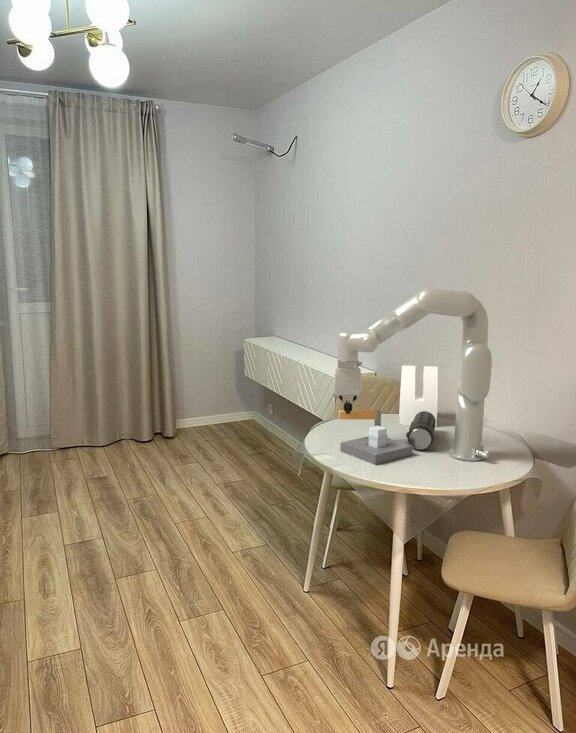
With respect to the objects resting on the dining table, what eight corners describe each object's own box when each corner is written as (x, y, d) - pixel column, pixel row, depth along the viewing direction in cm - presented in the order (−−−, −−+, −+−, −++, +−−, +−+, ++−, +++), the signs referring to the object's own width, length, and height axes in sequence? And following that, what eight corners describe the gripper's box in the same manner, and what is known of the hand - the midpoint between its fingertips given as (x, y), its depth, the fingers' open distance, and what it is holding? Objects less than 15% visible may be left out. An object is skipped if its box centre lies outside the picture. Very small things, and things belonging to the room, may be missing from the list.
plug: (386, 454, 209) (387, 428, 208) (377, 457, 206) (378, 430, 205) (376, 451, 213) (377, 425, 212) (367, 453, 210) (368, 427, 209)
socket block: (412, 455, 209) (412, 445, 209) (375, 464, 198) (375, 455, 198) (376, 443, 224) (377, 434, 223) (340, 451, 212) (340, 442, 212)
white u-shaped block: (436, 427, 248) (439, 370, 244) (400, 425, 250) (402, 369, 246) (432, 416, 266) (435, 363, 262) (399, 414, 269) (401, 362, 265)
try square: (379, 434, 221) (380, 410, 220) (380, 436, 219) (381, 411, 218) (338, 434, 221) (338, 410, 219) (338, 436, 218) (339, 411, 217)
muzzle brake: (412, 433, 241) (437, 431, 238) (406, 452, 215) (434, 450, 212) (409, 411, 240) (434, 409, 237) (403, 428, 214) (431, 425, 211)
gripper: (368, 363, 215) (368, 411, 218) (328, 363, 217) (328, 410, 220) (368, 366, 208) (367, 415, 211) (327, 366, 210) (327, 415, 213)
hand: (348, 412), depth 215 cm, fingers closed
